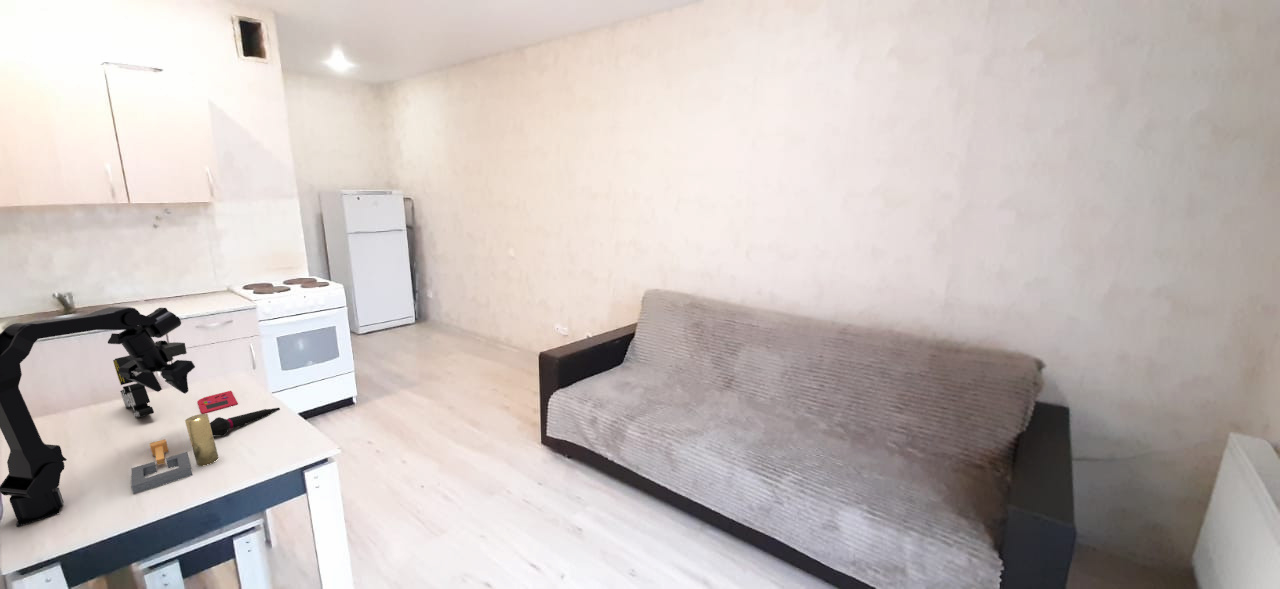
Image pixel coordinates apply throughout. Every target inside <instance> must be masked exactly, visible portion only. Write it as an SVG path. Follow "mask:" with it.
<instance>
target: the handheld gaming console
mask: <svg viewBox="0 0 1280 589" xmlns="http://www.w3.org/2000/svg"><path fill="white" fill-rule="evenodd" d="M237 405H239V403H238V401H237V399H236V397H235V395H234V393H233V392H232V390H228V391H224V392H221V393H216V394H212V395H209V396H204V397H202V398H200V399H198V400H197V406H198V409H199V412H200V414H210V413H213V412H215V411H217V412H218V411H221V410H225V409H227V408H232V407H234V406H237ZM231 406H232V407H231Z"/></svg>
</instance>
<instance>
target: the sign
mask: <svg viewBox="0 0 1280 589" xmlns="http://www.w3.org/2000/svg"><path fill="white" fill-rule="evenodd" d="M127 356H128V355H125V356H122V357H117V358H114V359H113V360H112V362H113V365H114V369H115V372H116V376H117V378H118V381H119V384H120V386H123V385H124V386H123V387H122V389H121V390H120V395H121V397H122V401H123V404H124V407H125V409H126V408H127V409H132V410H133V411H132V413H133V416H134V418H135V419H136V418H142V417H146V416H148V415H152V414H154V413H155V411H154V409H153V407H152V406H151V405H149V404H148V403H150V402H151V400H150V398H149V394H148V392H147V388H146V386H143V385H141V384H139V383H136V382H134V381H132V380H128V379H127V378H124V377H121V376H120V374H119V373H118V371H119V368H120V367H121V366H123V365H124V364H126V363H128V362H129V361H131V360H128V359H127V358H126V357H127ZM131 383H132V384H131ZM127 384H129V385H127Z"/></svg>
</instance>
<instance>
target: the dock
mask: <svg viewBox="0 0 1280 589" xmlns="http://www.w3.org/2000/svg"><path fill="white" fill-rule="evenodd" d="M155 461H156V460H155ZM155 461H154V460H153V461H151V462H147V463H145V464H144V463H143V464H142V465H139V466H136V467H135V466H134V467H131V470H130V474H131V475H130V479H131V480H130V481H131V482H130V484H131V486H130V487H131V491H132V495H135V494H138V493H141V492H144V491H147V490H148V491H149V490H151V489H154V488H157V487H160V485H161V486H163V484H164V485H166V483H167V484H169V483H172V482H175V481H179V480H182V479H185V478H188V477H191V476H193V470H191V469H192V466H191V465H192V463H191V460H190V456H189V452H188V451H184V452H181V453H177V454H175V455H171V456H169V457H165V464H166V466H167V468H168V469H170V470H168V471H163V472H161V473H158V474H155V472H156V473H157V472H158V470H157V469H158V468H157V465H156V462H155ZM174 466H175V467H174ZM171 467H172V468H174V469H172V468H171ZM151 474H155V475H151ZM149 475H151V476H149ZM190 475H191V476H190ZM146 476H148V477H146ZM178 479H179V480H178Z"/></svg>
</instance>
